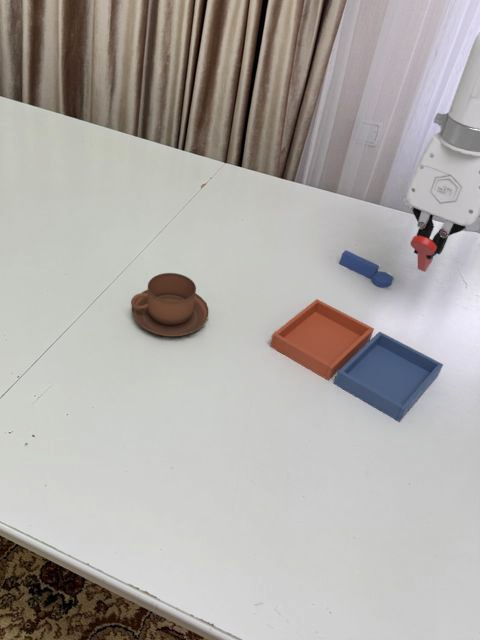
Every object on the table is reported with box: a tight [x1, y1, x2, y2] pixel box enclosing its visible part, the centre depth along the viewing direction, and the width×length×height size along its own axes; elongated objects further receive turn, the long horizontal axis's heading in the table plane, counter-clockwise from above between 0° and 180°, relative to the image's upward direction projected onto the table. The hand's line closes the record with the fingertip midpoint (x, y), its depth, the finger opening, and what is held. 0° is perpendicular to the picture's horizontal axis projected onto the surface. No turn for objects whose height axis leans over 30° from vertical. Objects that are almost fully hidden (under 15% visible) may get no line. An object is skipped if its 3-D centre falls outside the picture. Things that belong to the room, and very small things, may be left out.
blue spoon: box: [339, 250, 394, 289], centre depth 110 cm, size 10×4×2 cm, turn 49°
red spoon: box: [409, 235, 437, 273], centre depth 93 cm, size 10×4×2 cm
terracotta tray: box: [269, 298, 375, 381], centre depth 95 cm, size 10×13×2 cm
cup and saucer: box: [130, 272, 210, 337], centre depth 96 cm, size 12×12×6 cm
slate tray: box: [333, 331, 444, 422], centre depth 90 cm, size 10×13×2 cm
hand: (425, 252), depth 93 cm, fingers closed on red spoon, 1 cm apart
